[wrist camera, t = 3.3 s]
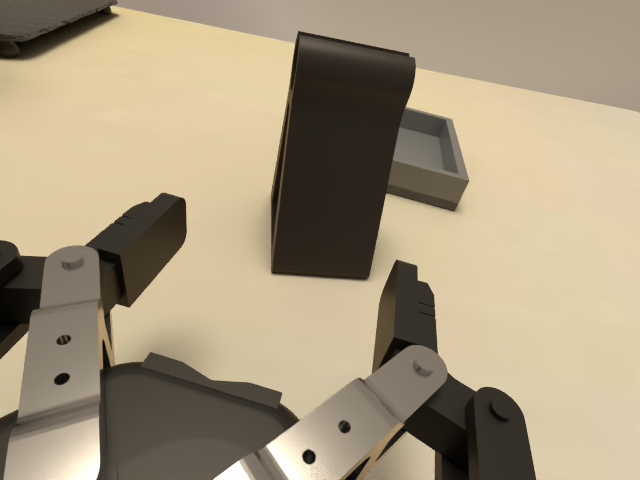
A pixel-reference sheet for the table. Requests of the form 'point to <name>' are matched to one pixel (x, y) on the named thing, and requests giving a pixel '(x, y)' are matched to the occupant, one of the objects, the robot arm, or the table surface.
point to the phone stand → (336, 155)
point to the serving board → (41, 19)
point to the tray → (428, 161)
